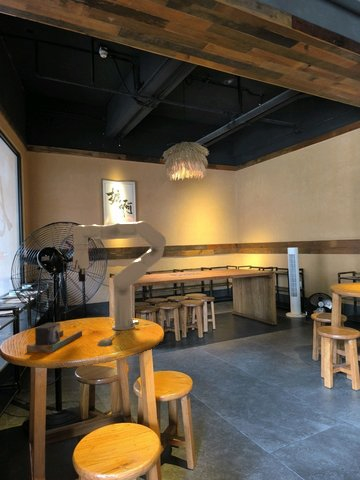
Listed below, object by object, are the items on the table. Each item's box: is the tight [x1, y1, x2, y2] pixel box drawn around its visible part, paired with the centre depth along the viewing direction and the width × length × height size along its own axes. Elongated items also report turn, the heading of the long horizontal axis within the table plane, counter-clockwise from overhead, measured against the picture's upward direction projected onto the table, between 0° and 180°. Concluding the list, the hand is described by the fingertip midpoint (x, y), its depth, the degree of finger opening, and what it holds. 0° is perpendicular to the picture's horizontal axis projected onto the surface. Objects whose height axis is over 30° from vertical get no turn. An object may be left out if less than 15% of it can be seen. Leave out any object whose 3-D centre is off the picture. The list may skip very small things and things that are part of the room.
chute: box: [26, 330, 83, 354], centre depth 153 cm, size 12×27×3 cm, turn 169°
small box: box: [34, 322, 61, 345], centre depth 147 cm, size 11×6×10 cm, turn 170°
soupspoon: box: [97, 331, 121, 348], centre depth 156 cm, size 22×3×7 cm
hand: (82, 281), depth 176 cm, fingers closed
